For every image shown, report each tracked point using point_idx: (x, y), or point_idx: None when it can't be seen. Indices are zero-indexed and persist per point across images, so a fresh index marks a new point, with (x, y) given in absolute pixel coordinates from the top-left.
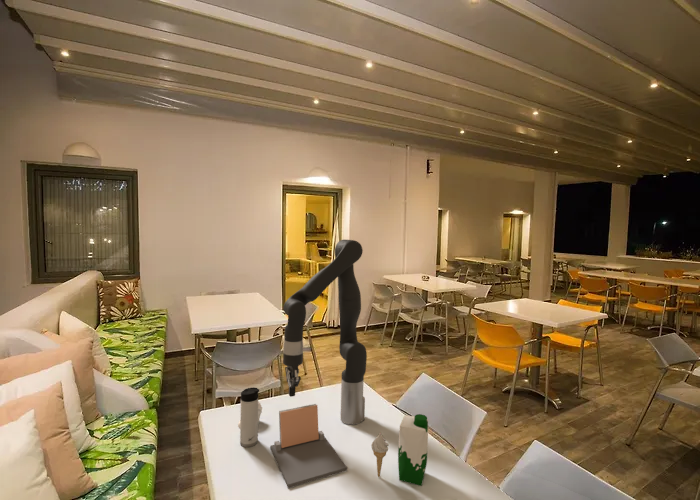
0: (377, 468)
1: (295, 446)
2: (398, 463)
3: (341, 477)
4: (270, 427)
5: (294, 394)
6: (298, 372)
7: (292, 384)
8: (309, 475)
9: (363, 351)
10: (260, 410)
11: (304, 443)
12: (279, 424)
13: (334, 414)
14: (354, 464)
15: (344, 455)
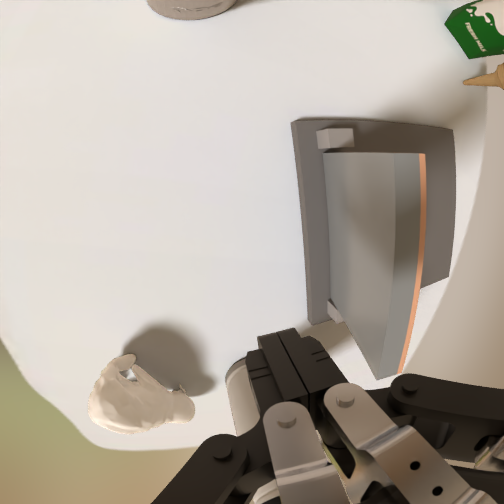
0: (479, 85)
1: None
2: (484, 50)
3: (456, 153)
4: (168, 320)
5: (315, 341)
6: (489, 502)
7: (440, 431)
8: (449, 227)
9: None
10: (115, 378)
11: None
12: (355, 340)
13: (126, 36)
14: (433, 100)
15: (403, 101)
